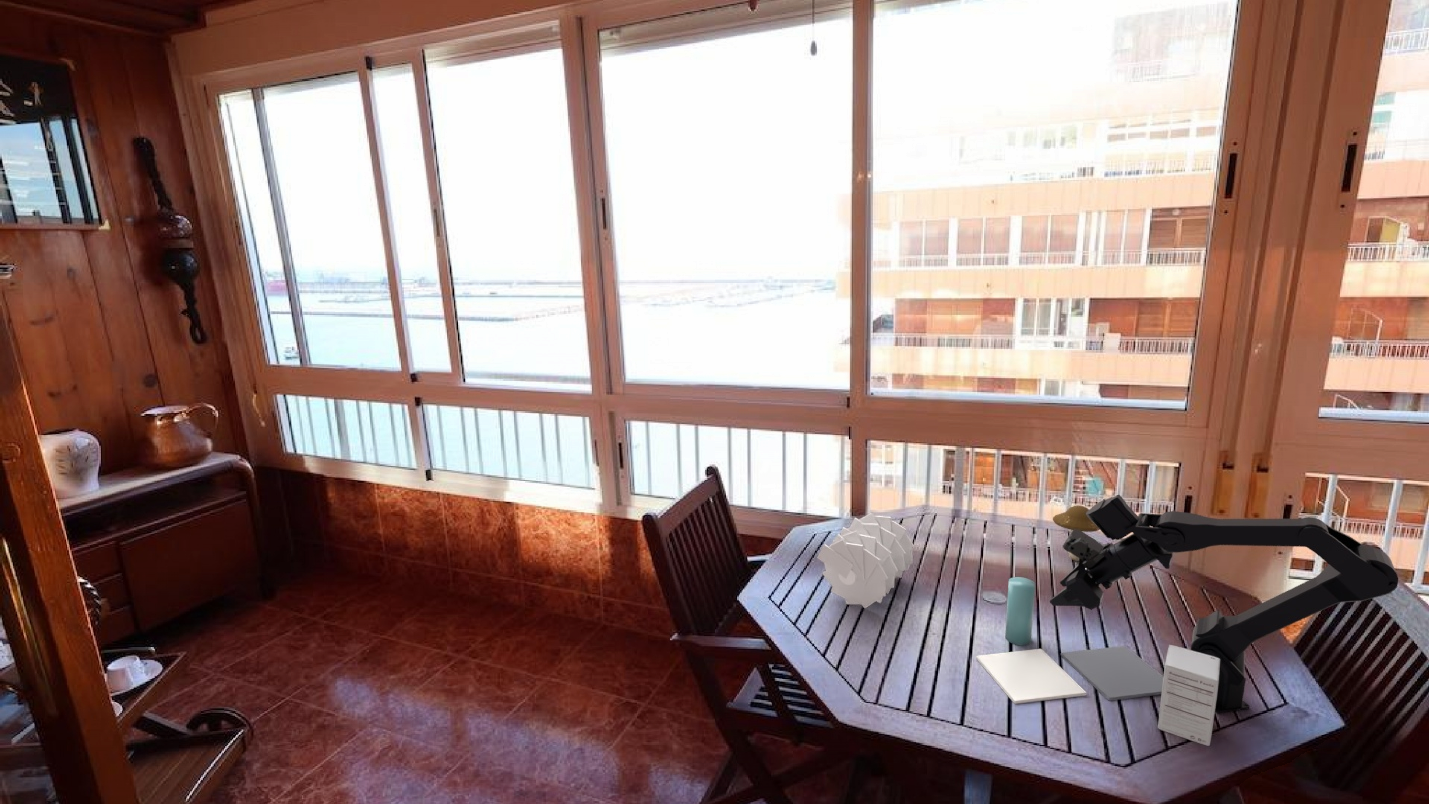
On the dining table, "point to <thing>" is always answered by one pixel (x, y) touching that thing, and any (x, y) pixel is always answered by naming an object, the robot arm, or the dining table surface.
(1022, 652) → the pale tile
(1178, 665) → the supplement box
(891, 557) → the spiral staircase
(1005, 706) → the dining table surface
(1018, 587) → the teal cylinder
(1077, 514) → the mushroom
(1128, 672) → the slate tile
